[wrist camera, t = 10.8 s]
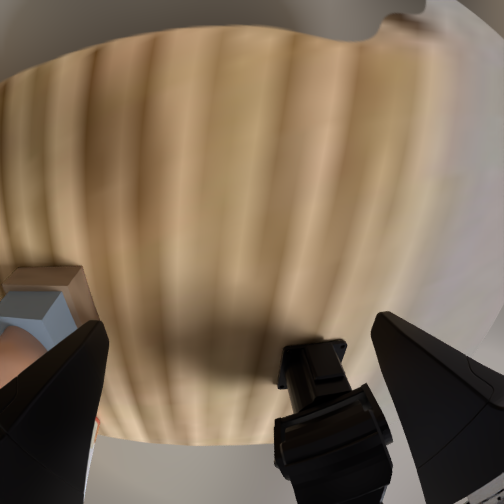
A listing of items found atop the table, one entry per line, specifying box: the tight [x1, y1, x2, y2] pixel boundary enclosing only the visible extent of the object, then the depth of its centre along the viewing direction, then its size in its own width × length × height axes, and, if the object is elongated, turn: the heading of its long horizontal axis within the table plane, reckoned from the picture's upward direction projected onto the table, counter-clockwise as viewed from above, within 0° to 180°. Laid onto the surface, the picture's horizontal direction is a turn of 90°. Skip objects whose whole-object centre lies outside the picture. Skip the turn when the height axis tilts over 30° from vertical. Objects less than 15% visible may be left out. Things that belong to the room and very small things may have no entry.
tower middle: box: [0, 291, 78, 351], centre depth 17 cm, size 6×6×4 cm
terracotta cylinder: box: [0, 326, 47, 389], centre depth 13 cm, size 5×5×5 cm
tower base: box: [2, 266, 100, 328], centre depth 20 cm, size 8×8×4 cm
